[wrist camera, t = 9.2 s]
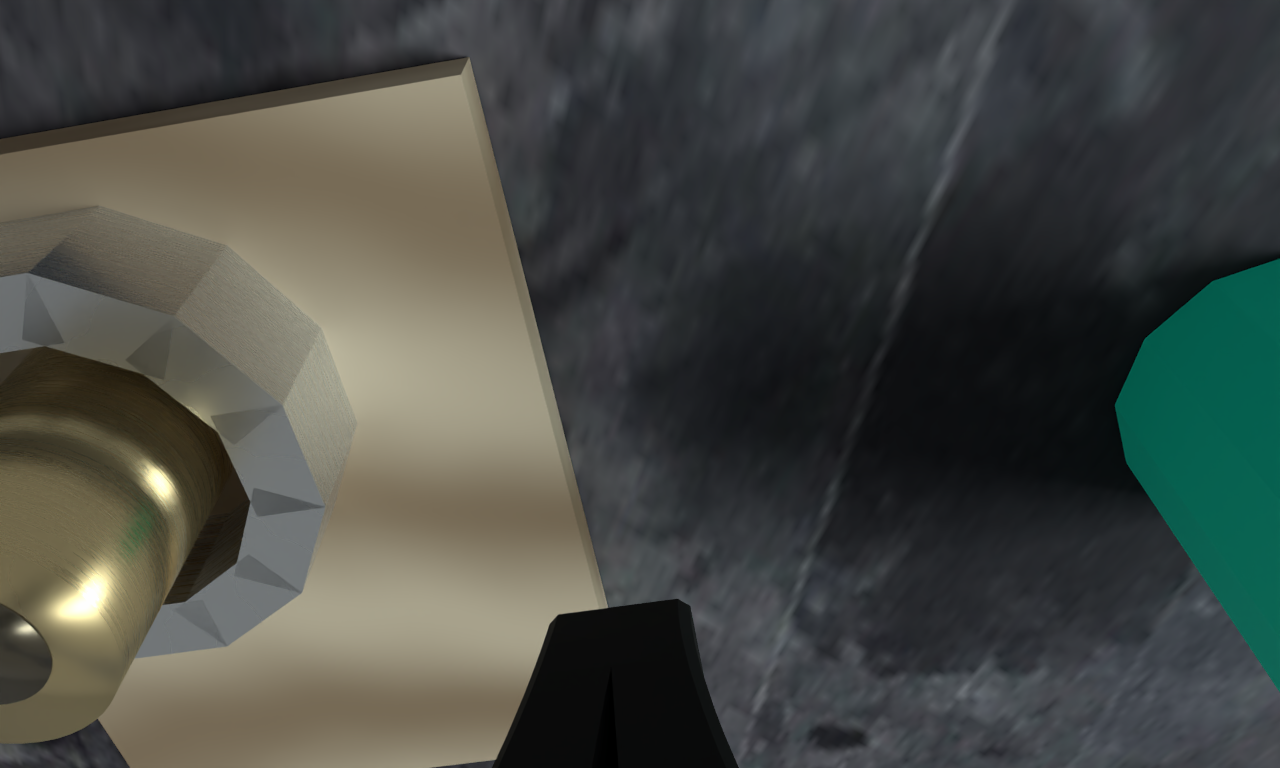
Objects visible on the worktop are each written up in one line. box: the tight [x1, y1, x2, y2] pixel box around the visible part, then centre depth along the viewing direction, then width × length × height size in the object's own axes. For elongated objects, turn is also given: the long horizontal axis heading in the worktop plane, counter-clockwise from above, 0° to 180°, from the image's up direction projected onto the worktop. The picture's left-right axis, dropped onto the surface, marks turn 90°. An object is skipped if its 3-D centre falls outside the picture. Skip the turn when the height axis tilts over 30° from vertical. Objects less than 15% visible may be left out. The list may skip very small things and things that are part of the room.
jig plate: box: [0, 57, 608, 768], centre depth 21 cm, size 16×12×1 cm
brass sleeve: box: [0, 346, 234, 743], centre depth 17 cm, size 4×4×6 cm
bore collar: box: [0, 206, 357, 659], centre depth 18 cm, size 8×8×2 cm
